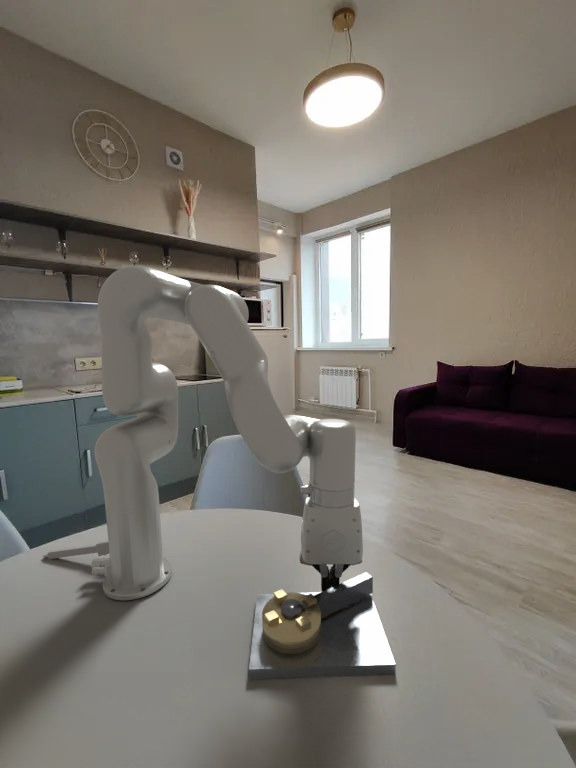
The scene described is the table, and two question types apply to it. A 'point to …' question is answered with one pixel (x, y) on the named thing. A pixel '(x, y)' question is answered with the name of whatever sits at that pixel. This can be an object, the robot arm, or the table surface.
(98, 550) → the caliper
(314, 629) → the gold disc with handle
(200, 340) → the robot arm
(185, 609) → the table surface
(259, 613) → the base plate
